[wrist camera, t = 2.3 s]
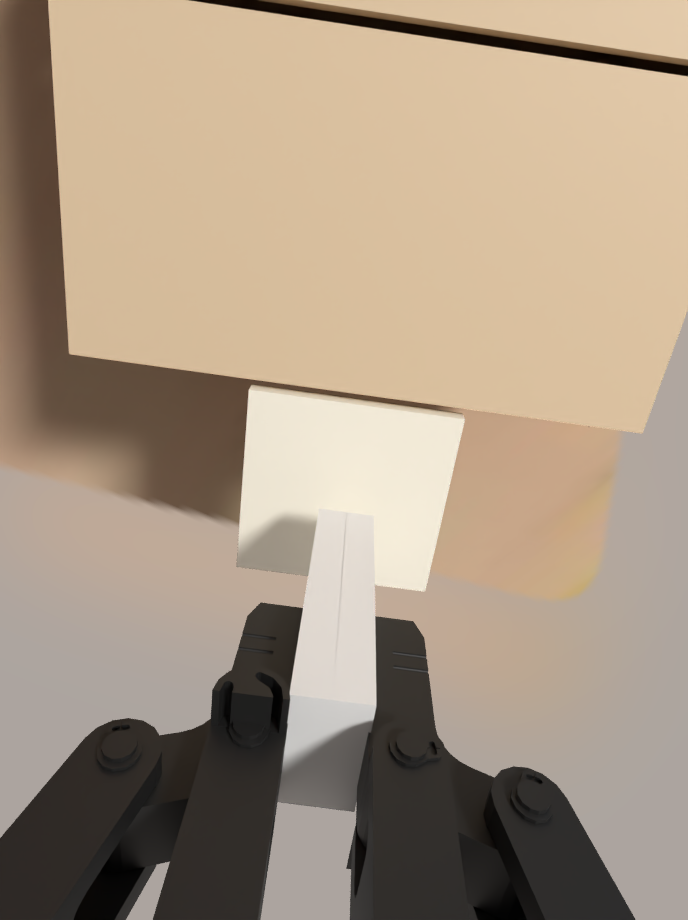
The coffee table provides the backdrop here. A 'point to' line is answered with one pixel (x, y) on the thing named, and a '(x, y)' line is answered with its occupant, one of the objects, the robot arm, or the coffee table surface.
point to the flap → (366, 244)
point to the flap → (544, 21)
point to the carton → (453, 35)
